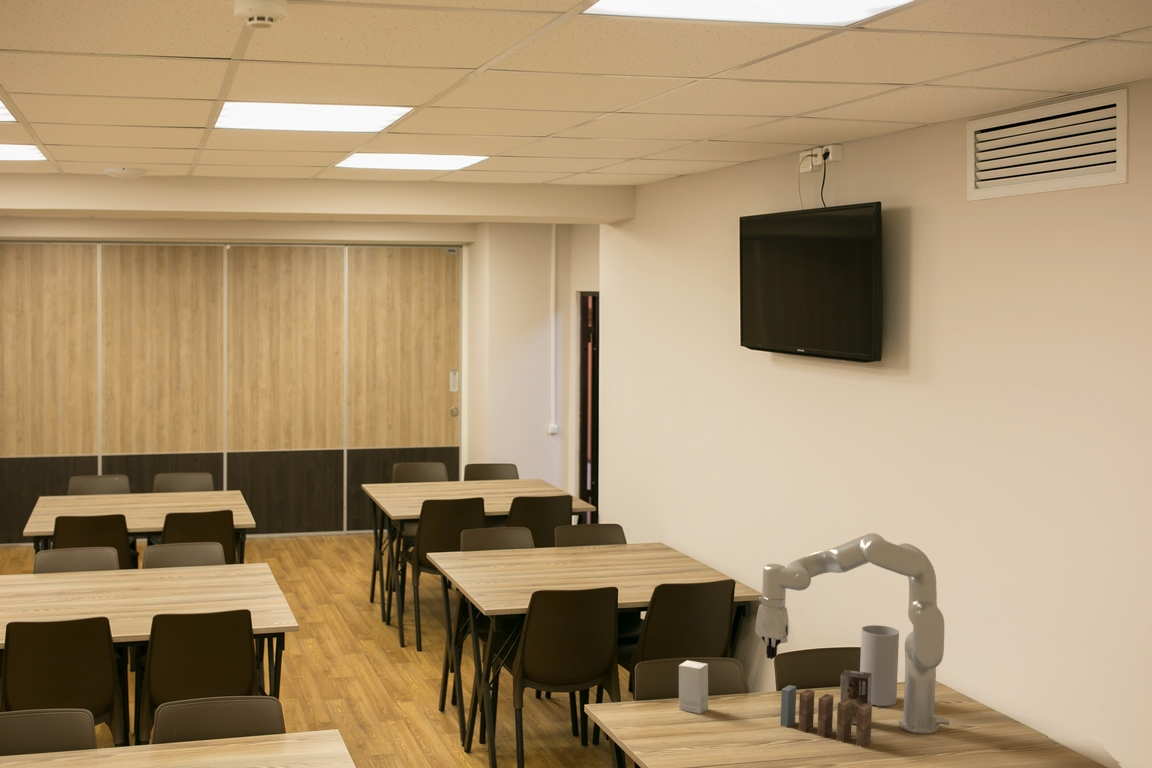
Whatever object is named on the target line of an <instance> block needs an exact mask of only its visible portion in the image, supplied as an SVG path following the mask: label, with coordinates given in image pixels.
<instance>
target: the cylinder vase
mask: <svg viewBox="0 0 1152 768" xmlns="http://www.w3.org/2000/svg"><path fill="white" fill-rule="evenodd" d="M860 634H861V635H860V637H861V638H860V639H861V640H860V663H859V672H866V673H871V705H876V706H875V707H878V706H888V707H891V706H894V705H896V703H897V697H898V696H897V694H898V693H897V692H898V671H899V668H898V667H899V647H900V646H899V645H900V644H899V643H900V642H899V641H900V631H899V630H898V629H896V628H894V627H890V626H887V625H879V624H878V625H877V624H876V625H874V624H871V625H864V626H862V627H861V633H860Z"/></svg>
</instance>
